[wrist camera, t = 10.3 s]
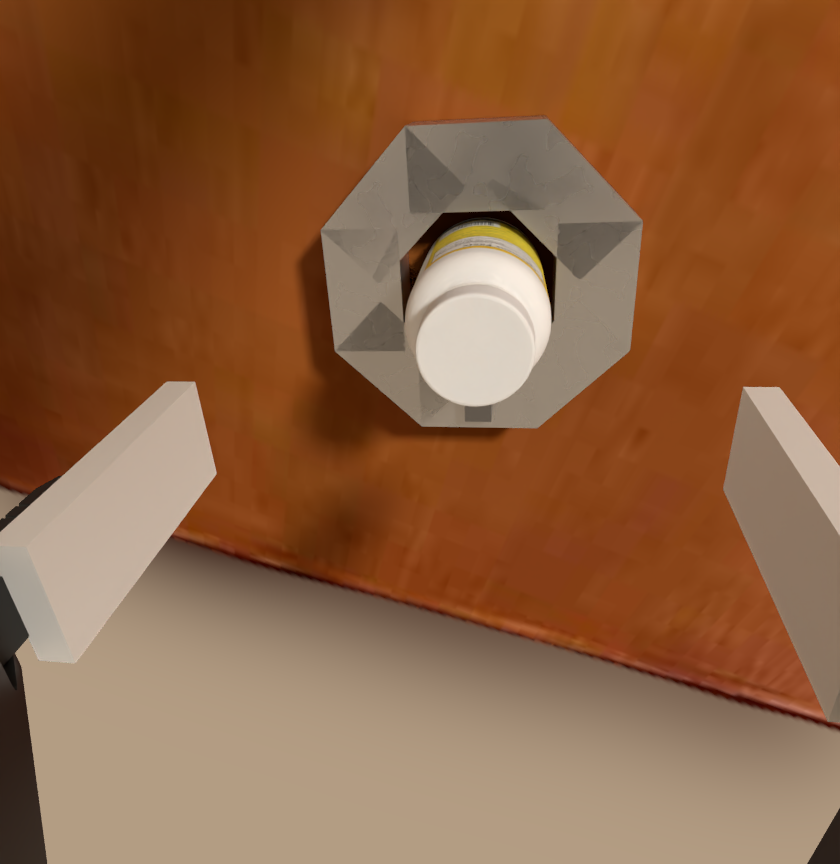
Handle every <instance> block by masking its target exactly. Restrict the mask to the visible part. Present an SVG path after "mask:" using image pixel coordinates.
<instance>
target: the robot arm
mask: <svg viewBox="0 0 840 864" xmlns="http://www.w3.org/2000/svg"><path fill="white" fill-rule="evenodd" d="M216 474H217V473H216V468H215V464H214V460H213V456H212V451H211V447H210V443H209V439H208V435H207V430H206V426H205V422H204V418H203V413H202V409H201V405H200V401H199V396H198V392H197V388H196V384H195V382H166V383H165V384H164V385H163V386H161V387H160V388H159V389H158V390H157V391H156V392H155V393H154V394H153V395H151V396H150V397H149V398H148V399H147V400H146V401H145V402H144V403H143V404H141V405H140V406H139V407H138V408H137V409H136V410H135V411H134V412H133V413H132V414H130V415H129V416H128V417H127V418H126V419H125V420H124V421H123V422H122V423H120V424H119V425H118V426H117V427H116V428H115V429H114V430H113V431H112V432H110V433H109V434H108V435H107V436H106V437H105V438H104V439H103V440H102V441H101V442H99V443H98V444H97V445H96V446H95V447H94V448H93V449H92V450H91V451H89V452H88V453H87V454H86V455H85V456H84V457H83V458H82V459H81V460H79V461H78V462H77V463H76V464H75V465H74V466H73V467H72V468H71V469H69V470H68V471H67V472H66V473H65V474H64V475H63V476H58V477H56V478H54V479H53V480H51V481H49V482H47V483H45V484H44V485H42V486H40V487H38V488H36V489H35V490H34V491H33V492H32V493H30V494H29V495H28V496H27V497H26V498H25V499H24V500H22V501H21V502H20V503H19V506H16V507H15V508H13V509H12V510H11V511H10V512H9V513H8V514H7V515H6V518H5V519H3V518H2V519H1V520H0V864H47V859H46V851H45V843H44V835H43V828H42V821H41V813H40V805H39V797H38V790H37V782H36V775H35V767H34V760H33V753H32V744H31V737H30V729H29V722H28V714H27V707H26V699H25V692H24V684H23V676H22V669H21V665H20V663H19V661H18V659H17V657H16V655H15V652H16V651H17V650H18V649H19V648H20V646H21V645H22V644H23V643H24V642H25V641H26V639H27V638H29V640H30V643H31V645H32V646H33V649H34V651H35V653H36V655H37V658H38V660H40V661H53V662H65V663H76V662H77V661H78V659H79V658H80V657H81V655H82V654H83V653H84V651H85V650H86V649H87V647H88V646H89V645H90V643H91V642H92V641H93V639H94V638H95V636H96V635H97V634H98V633H99V631H100V630H101V628H102V627H103V626H104V624H105V623H106V622H107V620H108V619H109V618H110V616H111V615H112V614H113V612H114V611H115V610H116V608H117V607H118V606H119V604H120V603H121V602H122V600H123V599H124V598H125V596H126V595H127V594H128V592H129V591H130V589H131V588H132V587H133V586H134V584H135V583H136V581H137V580H138V579H139V577H140V576H141V575H142V573H143V572H144V570H145V569H146V568H147V567H148V565H149V564H150V563H151V561H152V560H153V559H154V557H155V556H156V554H157V553H158V552H159V551H160V549H161V548H162V547H163V545H164V544H165V543H166V541H167V540H168V538H169V537H170V536H171V534H172V533H173V532H174V530H175V529H176V528H177V526H178V525H179V524H180V522H181V521H182V520H183V518H184V517H185V516H186V514H187V513H188V512H189V510H190V509H191V508H192V506H193V505H194V504H195V502H196V501H197V500H198V498H199V497H200V495H201V494H202V493H203V491H204V490H205V489H206V487H207V486H208V485H209V483H210V482H211V481H212V479H213V478H214V477H215V475H216ZM723 490H724V492H725V494H726V497H727V499H728V501H729V503H730V505H731V508H732V510H733V512H734V514H735V516H736V519H737V521H738V523H739V525H740V528H741V530H742V532H743V534H744V536H745V539H746V541H747V543H748V545H749V548H750V550H751V552H752V554H753V556H754V559H755V561H756V563H757V565H758V568H759V570H760V572H761V574H762V576H763V579H764V581H765V583H766V585H767V587H768V590H769V592H770V594H771V596H772V599H773V601H774V603H775V605H776V607H777V610H778V612H779V614H780V616H781V619H782V621H783V623H784V625H785V627H786V630H787V632H788V634H789V636H790V638H791V641H792V643H793V645H794V647H795V650H796V652H797V654H798V656H799V658H800V661H801V663H802V665H803V667H804V670H805V672H806V674H807V676H808V678H809V681H810V683H811V685H812V687H813V689H814V692H815V694H816V696H817V698H818V701H819V703H820V705H821V707H822V709H823V712H824V714H825V716H826V718H827V721H828V722H840V466H839V465H838V464H837V462H836V461H835V460H834V458H833V457H832V456H831V454H830V453H829V452H828V450H827V449H826V448H825V447H824V445H823V444H822V443H821V441H820V440H819V439H818V437H817V436H816V435H815V433H814V432H813V431H812V429H811V428H810V427H809V425H808V424H807V423H806V422H805V420H804V419H803V418H802V416H801V415H800V414H799V412H798V411H797V410H796V408H795V407H794V406H793V404H792V403H791V402H790V400H789V399H788V398H787V397H786V395H785V394H784V393H783V391H782V390H781V389H780V387H743V391H742V396H741V401H740V406H739V411H738V416H737V421H736V426H735V431H734V437H733V442H732V447H731V452H730V457H729V462H728V467H727V472H726V478H725V483H724V488H723ZM808 864H840V809H839V810H838V812H837V814H836V816H835V817H834V819H833V821H832V822H831V824H830V826H829V828H828V829H827V831H826V833H825V834H824V836H823V838H822V840H821V841H820V843H819V845H818V846H817V848H816V850H815V852H814V854H813V855H812V857H811V858H810V860H809V862H808Z"/></svg>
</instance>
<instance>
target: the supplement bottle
mask: <svg viewBox="0 0 840 864" xmlns="http://www.w3.org/2000/svg"><path fill="white" fill-rule="evenodd" d="M405 330H406V336H407V340H408V343H409V346H410V349H411V351H412V353H413V355H414V356H415V358H416V362H417V366H418V368H419V371H420V373H421V375H422V377H423V379H424V380H425V382H426V383H427V384H428V385H429V387H430V388H431V389H432V390H433V391H435V392H436V393H437V394H438V395H440V396H441V397H443V398H445V399H446V400H448V401H451V402H453V403H456V404H459V405H464V406H473V407H478V406H486V405H491V404H495V403H497V402H500V401H502V400H504V399H506V398H508V397H509V396H511V395H512V394H513V393H515V392H516V391H517V390H518V389H519V388H520V387H521V386H522V385H523V384H524V382H525V381H526V379H527V378H528V376H529V374H530V372H531V370H532V368H533V367H534V366H535V365H536V363H537V362H538V361H539V359H540V358H541V356H542V354H543V353H544V350H545V348H546V346H547V343H548V340H549V336H550V332H551V307H550V301H549V296H548V292H547V287H546V283H545V278H544V273H543V268H542V264H541V261H540V258H539V255H538V253H537V251H536V249H535V247H534V245H533V244H532V243H531V241H530V240H529V239H528V237H527V236H526V235H525V234H524V233H523V232H521V231H520V230H519V229H518V228H516V227H515V226H513V225H511V224H509V223H507V222H505V221H502V220H499V219H494V218H485V217H482V218H472V219H468V220H465V221H462V222H460V223H457V224H455V225H453V226H452V227H450V228H449V229H447V230H446V231H445V232H444V233H442V234H441V235H440V236H439V238H438V239H437V240H436V241H435V242H434V244H433V245H432V247H431V248H430V250H429V252H428V254H427V256H426V259H425V261H424V263H423V265H422V268H421V270H420V272H419V275H418V277H417V279H416V282H415V284H414V286H413V289H412V291H411V293H410V296H409V299H408V303H407V307H406V312H405Z"/></svg>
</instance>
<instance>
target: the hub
mask: <svg viewBox="0 0 840 864" xmlns="http://www.w3.org/2000/svg"><path fill="white" fill-rule="evenodd" d="M480 211H511V212H512V213H513V214H514V215H515V216H516V217H517V218H518V219H519V220H520V221H521V222H522V223H523V224H524V225H525V226H526V227H527V228H528V229H529V230H530V231H531V232H532V233H533V234H534V235H535V236H536V237H537V238H538V239H539V240H540V241H541V242H542V243H543V244H544V245H545V246H546V247H547V248H548V249H549V250H550V251H551V252H552V253H553V254H554V258H553V282H552V304H551V305H550V307H551V332H550V336H549V340H548V343H547V346H546V348H545V350H544V353H543V354H542V356H541V358H540V359H539V361H538V362H537V363H536V365H535V366H534V367H533V368H532V370H531V372H530V374H529V376H528V378H527V379H526V381H525V382H524V384H523V385H522V386H521V387H520V388H519V389H518V390H517V391H516V392H515V393H513V394H512V395H511V396H509V397H508V398H506V399H504V400H502V401H500V402H497V403H495V404H491V405H486V406H478V407H473V406H464V405H459V404H456V403H453V402H451V401H448V400H446V399H445V398H443V397H441V396H440V395H438V394H437V393H436V392H435V391H433V390H432V389H431V388H430V387H429V385H428V384H427V383H426V382H425V380H424V379H423V377H422V375H421V373H420V371H419V368H418V366H417V362H416V358H415V356H414V355H413V353H412V351H411V349H410V346H409V343H408V340H407V336H406V330H405V312H406V307H407V303H408V299H409V296H410V293H411V288H410V271H409V254H408V251H409V250H410V249H411V247H412V246H413V245H414V244H415V243H416V242H417V241H418V240H419V239H420V237H421V236H422V235H423V234H424V233H425V232H426V231H427V230H428V229H429V227H430V226H431V225H432V224H433V223H434V222H435V221H436V220H437V219H438V217H439V216H440V215H441V214H442V213H447V212H480ZM642 225H643V221H642V219H641V218H640V217H639V216H638V215H637V213H636V212H635V211H634V210H633V209H632V208H631V207H630V206H629V205H628V204H627V202H626V201H625V200H624V199H623V198H622V197H621V196H620V195H619V194H618V193H617V192H616V191H615V190H614V189H613V187H612V186H611V185H610V184H609V183H608V182H607V181H606V180H605V179H604V178H603V177H602V176H601V175H600V174H599V172H598V171H597V170H596V169H595V168H594V167H593V166H592V165H591V164H590V163H589V162H588V161H587V160H586V158H585V157H584V156H583V155H582V154H581V153H580V152H579V151H578V150H577V149H576V148H575V147H574V146H573V145H572V143H571V142H570V141H569V140H568V139H567V138H566V137H565V136H564V135H563V134H562V133H561V132H560V131H559V130H558V128H557V127H556V126H555V125H554V124H553V123H552V122H551V121H550V120H549V119H548V118H547V117H546V115H542V116H522V117H502V118H481V119H461V120H441V121H421V122H412V123H410V124H408V125H406V126H405V127H404V128H403V129H402V130H401V131H400V133H399V134H398V135H397V136H396V138H395V139H394V140H393V141H392V143H391V144H390V145H389V146H388V148H387V149H386V150H385V151H384V153H383V154H382V155H381V156H380V157H379V159H378V160H377V161H376V162H375V164H374V165H373V166H372V167H371V169H370V170H369V171H368V172H367V174H366V175H365V176H364V177H363V178H362V180H361V181H360V182H359V183H358V185H357V186H356V187H355V188H354V190H353V191H352V192H351V193H350V195H349V196H348V197H347V198H346V199H345V201H344V202H343V203H342V204H341V206H340V207H339V208H338V209H337V211H336V212H335V213H334V214H333V216H332V217H331V218H330V219H329V221H328V222H327V223H326V224H325V225H324V227H323V228H322V229H321V237H322V246H323V254H324V262H325V271H326V279H327V288H328V296H329V305H330V313H331V322H332V330H333V339H334V347H335V352H336V353H338V354H339V355H340V356H341V357H342V358H343V359H345V360H346V361H347V362H348V363H349V364H350V365H351V366H353V367H354V368H355V369H356V370H357V371H358V372H360V373H361V374H362V375H363V376H364V377H365V378H366V379H368V380H369V381H370V382H371V383H372V384H373V385H375V386H376V387H377V388H378V389H379V390H380V391H381V392H383V393H384V394H385V395H386V396H387V397H388V398H390V399H391V400H392V401H393V402H394V403H395V404H397V405H398V406H399V407H400V408H401V409H402V410H403V411H405V412H406V413H407V414H408V415H409V416H410V417H412V418H413V419H414V420H415V421H416V422H417V423H418V424H420V425H421V426H422V427H489V428H538V427H539V426H540V425H542V424H543V423H544V422H545V421H546V420H548V419H549V418H550V417H551V416H552V415H554V414H555V413H556V412H557V411H558V410H560V409H561V408H562V407H563V406H564V405H566V404H567V403H568V402H569V401H570V400H572V399H573V398H574V397H575V396H576V395H578V394H579V393H580V392H581V391H582V390H584V389H585V388H586V387H587V386H588V385H590V384H591V383H592V382H593V381H594V380H596V379H597V378H598V377H599V376H600V375H601V374H603V373H604V372H605V371H606V370H607V369H609V368H610V367H611V366H612V365H613V364H615V363H616V362H617V361H618V360H619V359H621V358H622V357H623V356H624V355H625V354H627V353H628V352H629V351H630V346H631V336H632V326H633V315H634V305H635V295H636V285H637V275H638V265H639V255H640V245H641V235H642Z"/></svg>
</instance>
